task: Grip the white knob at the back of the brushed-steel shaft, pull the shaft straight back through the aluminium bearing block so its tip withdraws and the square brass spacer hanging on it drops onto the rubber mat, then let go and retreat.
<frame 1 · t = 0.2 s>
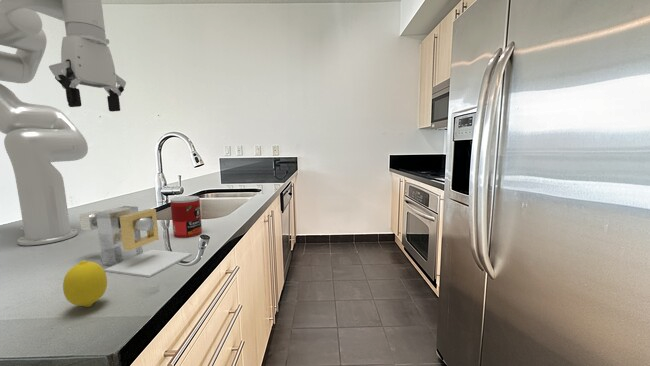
hand: (96, 109, 71), 36 cm above the counter, tool pointing down, fingers open, 9 cm apart
mat: (150, 262, 65), on the counter
canned food: (188, 234, 86), on the counter
lemon: (89, 307, 48), on the counter
bearing block: (123, 259, 67), on the counter
spacer: (140, 228, 65), point 8 cm above the counter, touching shaft
shaft: (117, 222, 66), point 9 cm above the counter, slide at 0.0 cm, touching spacer
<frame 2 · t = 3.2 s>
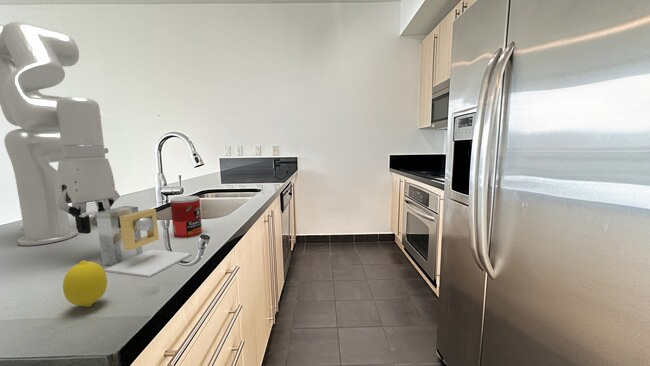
hand: (94, 229, 68), 7 cm above the counter, tool pointing down, fingers closed on shaft, 3 cm apart
shaft: (117, 222, 66), point 9 cm above the counter, slide at 0.0 cm, touching gripper, spacer
everything else where it was.
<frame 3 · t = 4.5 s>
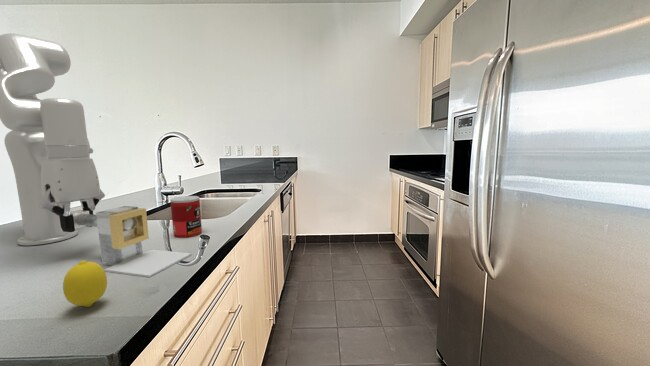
hand: (78, 228, 70), 7 cm above the counter, tool pointing down, fingers closed on shaft, 3 cm apart
spacer: (130, 227, 65), point 8 cm above the counter, touching bearing block
shaft: (101, 220, 67), point 9 cm above the counter, slide at 5.0 cm, touching gripper
everything else where it was.
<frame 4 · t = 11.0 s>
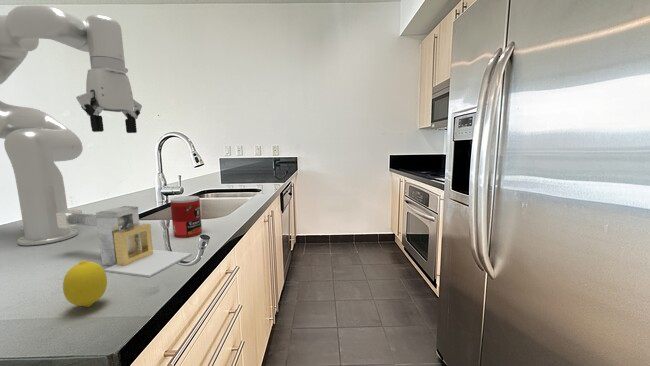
hand: (115, 132, 79), 30 cm above the counter, tool pointing down, fingers open, 9 cm apart
spacer: (134, 243, 66), point 4 cm above the counter, touching mat
shaft: (93, 220, 68), point 9 cm above the counter, slide at 7.5 cm
everything else where it was.
at the end: shaft slide at 7.5 cm; spacer point 4.1 cm above the counter; spacer inside the target area (4.2 cm from its centre), point 4.1 cm above the counter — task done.
